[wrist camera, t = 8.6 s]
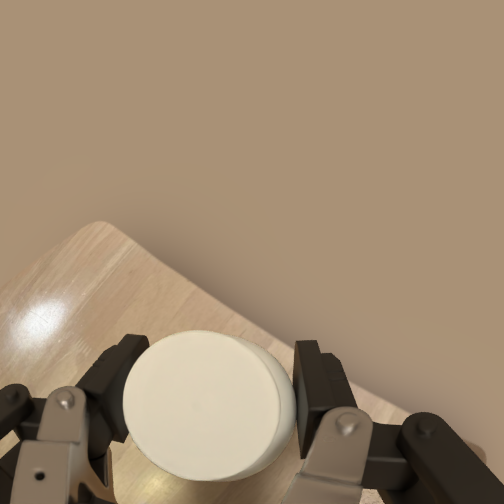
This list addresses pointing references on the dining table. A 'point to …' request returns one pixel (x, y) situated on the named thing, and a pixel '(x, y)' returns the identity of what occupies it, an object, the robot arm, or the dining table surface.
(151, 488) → the dining table surface
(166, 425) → the pill bottle
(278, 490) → the dining table surface
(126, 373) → the robot arm
